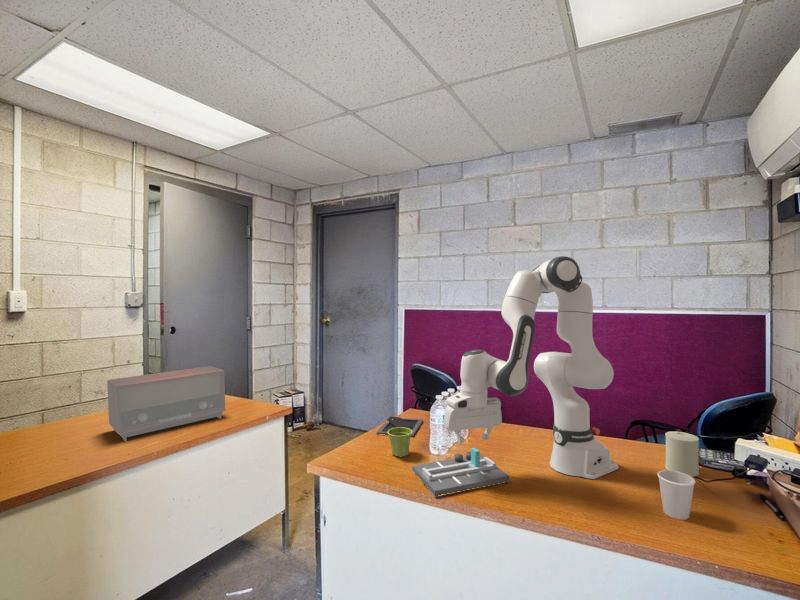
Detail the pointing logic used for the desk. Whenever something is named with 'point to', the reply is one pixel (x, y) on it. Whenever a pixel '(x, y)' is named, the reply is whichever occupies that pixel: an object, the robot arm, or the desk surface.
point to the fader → (475, 458)
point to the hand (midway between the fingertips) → (473, 440)
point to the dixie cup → (676, 493)
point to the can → (682, 453)
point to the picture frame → (400, 424)
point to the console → (459, 474)
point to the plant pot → (400, 440)
